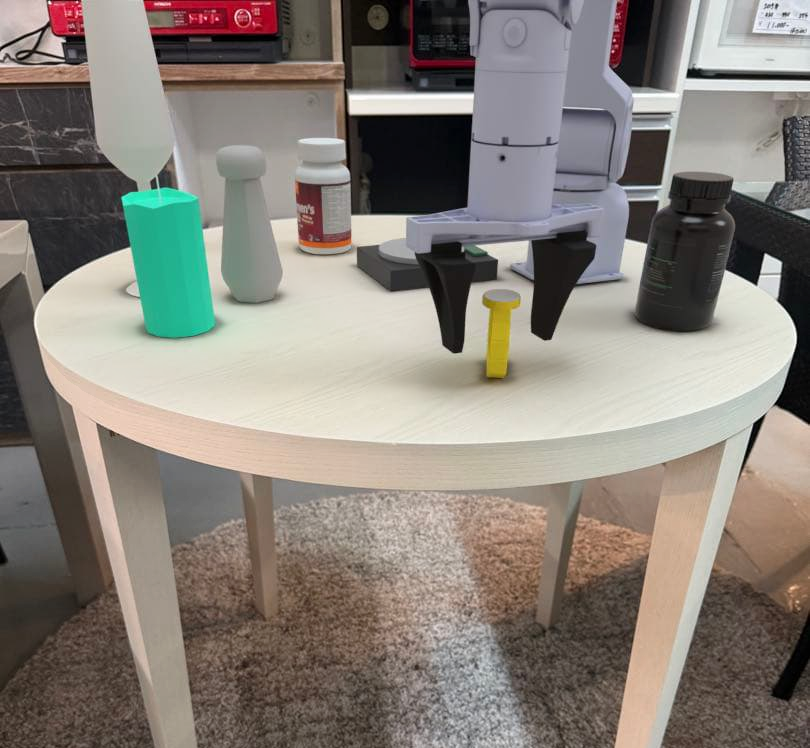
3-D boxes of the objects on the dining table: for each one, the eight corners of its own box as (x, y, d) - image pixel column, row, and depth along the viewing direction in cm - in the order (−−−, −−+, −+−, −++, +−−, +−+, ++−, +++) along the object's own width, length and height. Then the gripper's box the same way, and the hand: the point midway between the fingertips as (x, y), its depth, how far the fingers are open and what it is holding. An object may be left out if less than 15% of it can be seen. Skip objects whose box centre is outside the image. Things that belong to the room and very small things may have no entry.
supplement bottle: (687, 305, 72) (718, 168, 66) (726, 329, 67) (764, 182, 60) (621, 309, 71) (645, 169, 64) (655, 334, 66) (687, 184, 59)
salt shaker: (272, 308, 70) (258, 152, 63) (214, 303, 71) (194, 150, 64) (292, 289, 75) (281, 143, 68) (238, 285, 76) (221, 140, 69)
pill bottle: (289, 247, 89) (281, 139, 82) (333, 240, 92) (329, 135, 86) (317, 258, 85) (311, 145, 78) (362, 250, 88) (360, 141, 82)
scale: (455, 255, 87) (456, 232, 85) (496, 279, 79) (498, 253, 78) (356, 265, 83) (356, 240, 81) (390, 291, 75) (390, 264, 74)
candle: (152, 315, 68) (125, 169, 62) (219, 314, 69) (200, 169, 62) (138, 338, 63) (108, 182, 57) (211, 337, 64) (189, 182, 57)
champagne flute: (182, 274, 79) (139, -9, 65) (205, 291, 74) (164, -10, 61) (117, 284, 76) (57, -11, 62) (138, 302, 71) (78, -13, 58)
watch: (477, 356, 61) (482, 281, 58) (512, 357, 61) (519, 282, 58) (477, 385, 56) (482, 305, 53) (514, 387, 56) (522, 307, 53)
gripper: (439, 154, 44) (432, 374, 52) (643, 144, 49) (608, 347, 57) (394, 139, 49) (393, 340, 57) (582, 131, 54) (558, 319, 62)
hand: (497, 342), depth 57 cm, fingers open, 7 cm apart
